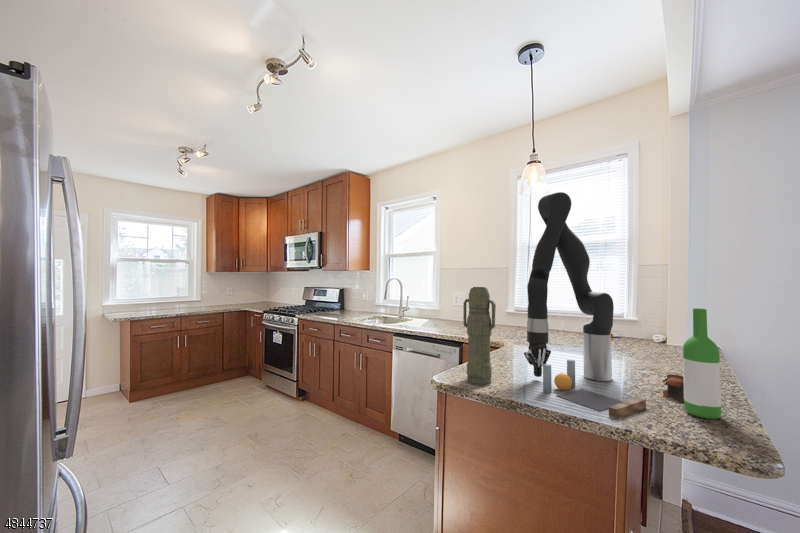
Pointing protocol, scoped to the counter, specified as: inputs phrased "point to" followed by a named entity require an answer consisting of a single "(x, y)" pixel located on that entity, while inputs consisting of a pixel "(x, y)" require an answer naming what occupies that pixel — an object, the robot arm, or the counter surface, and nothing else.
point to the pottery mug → (674, 387)
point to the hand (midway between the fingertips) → (537, 376)
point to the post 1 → (547, 378)
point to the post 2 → (571, 371)
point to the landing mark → (590, 399)
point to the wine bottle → (701, 371)
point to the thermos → (479, 335)
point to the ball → (563, 381)
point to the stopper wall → (627, 407)
